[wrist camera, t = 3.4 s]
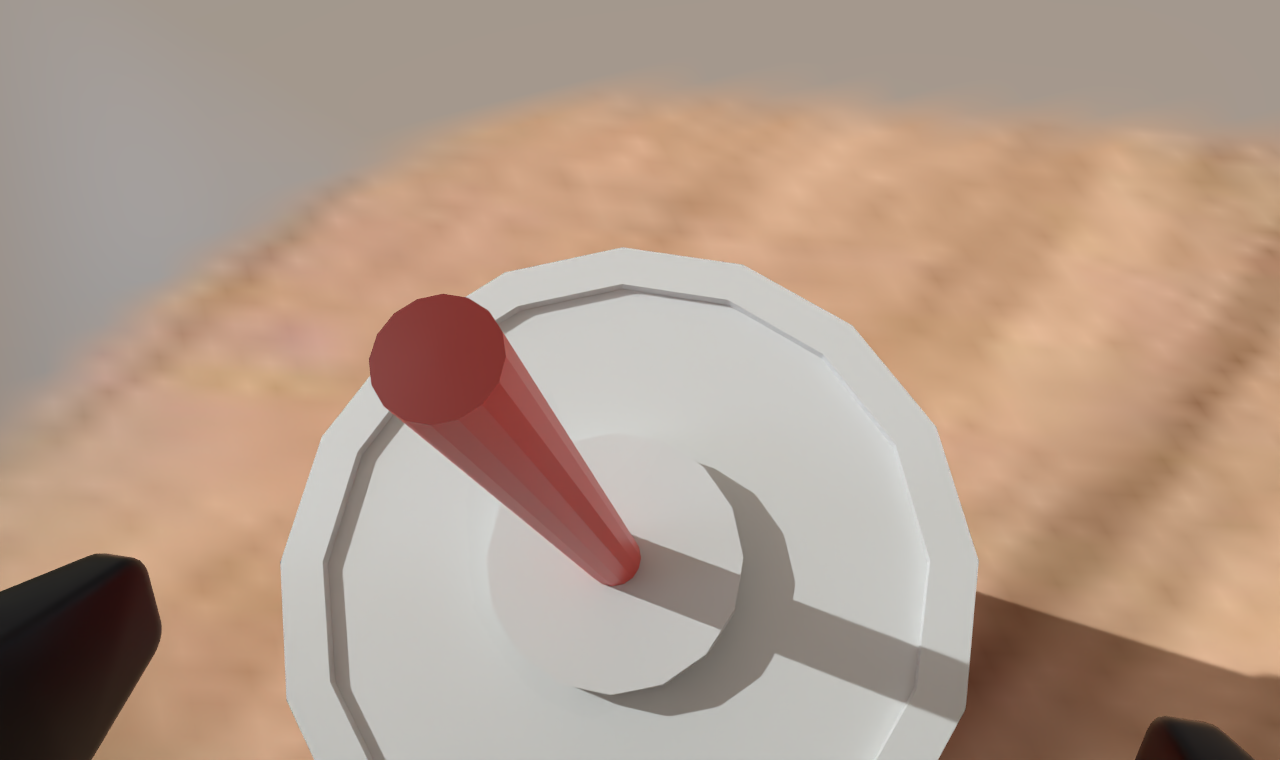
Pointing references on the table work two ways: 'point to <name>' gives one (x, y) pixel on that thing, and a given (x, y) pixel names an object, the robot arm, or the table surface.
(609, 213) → the table surface
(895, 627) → the beverage cup
